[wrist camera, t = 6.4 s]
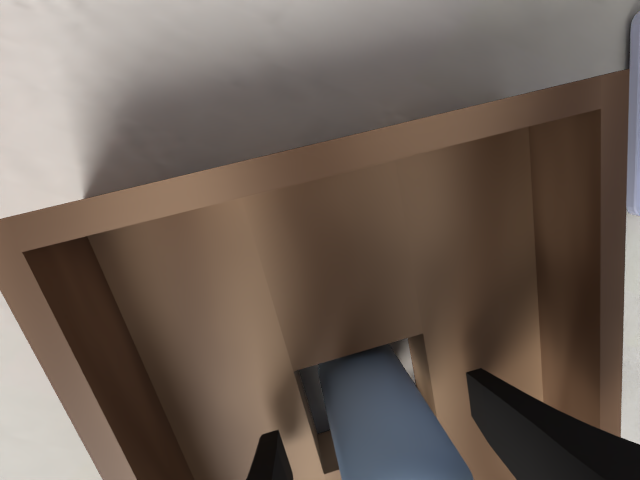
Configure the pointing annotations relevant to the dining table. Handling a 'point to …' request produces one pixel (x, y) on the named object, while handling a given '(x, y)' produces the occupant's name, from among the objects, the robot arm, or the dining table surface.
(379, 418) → the peg
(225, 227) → the walnut box
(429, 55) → the dining table surface
